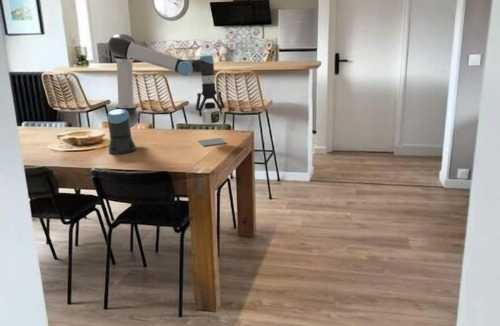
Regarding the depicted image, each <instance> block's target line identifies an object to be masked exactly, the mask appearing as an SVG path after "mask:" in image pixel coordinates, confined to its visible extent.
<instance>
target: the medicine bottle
mask: <svg viewBox="0 0 500 326" xmlns="http://www.w3.org/2000/svg"><path fill="white" fill-rule="evenodd" d="M202 111H203V119H204V122H202V123H203V124H207V125H213V124H217V123H220V120H219V110H218V109H216V103H215V101H212V102H211V101H209V102H205V104H204V110H202Z"/></svg>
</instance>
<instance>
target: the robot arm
mask: <svg viewBox="0 0 500 326" xmlns="http://www.w3.org/2000/svg"><path fill="white" fill-rule="evenodd" d="M107 46H108V49H109V51H110V53H111V54H112V55H113V59H114V61H116V70H117V71H116V72H117V73H116V77H117V104H116V105H115V109H113V110H110V111H109V112H107V116H106V117H107V125H108V131H109V139H110V140H109V144H108V153H109V154H111V153H112V154H111V155H125V154H129V153H134V152H135V151H136V150H137V147H136V144H135V141H134V140H133V138H132V130H131V128H133V127H135V125H136V124H137V122H138V120H139V113H138V111H137V105H136V104H135V103H134V85H133V84H134V77H133V73H134V72H133V63H134V61H136V60H138V61H140V62H142V63H143V62H144V63H146V64H150V65H152V66H156V67H159V68H163V69H166V70H168V71H171V72H175V73H178V74H179V75H180V76H184V77H185V76H186V77H187V76H189V75H191V74H200V75H201V76H200V77H201V82H202V83H201V88H202V91H201V92H197V93H196V95H197V98H196V105H195V110H196V111H198V115H199V117H200V120H201V122H202V123H203V122H204V119H203V111H204V110H203V108H204V107H205V103H206V101H207V100H213V102H214V103H215V105H216V106H217V107H218V108H217V110H219V121H221V115H223V112H222V111H223V109H224V108H225V104H224V99H223V98H222V91H219V90H218V91H216V83H215V81H216V80H215V62H214V58H213V56H212V55H208V54H207V55H200V57H199V58H198V59H182V58H180V57H179V58H178V57H175V56H172V55H169V54H167V53H163V52H160V51H156V50H153V49H151V48H148V47H144V46H141V45H139V44H137V42H136V40H135V38H134V37H133V36H131V35H130V34H129V35H128V34H115V35H112V36H111V37H110V38H109V41H108V45H107ZM216 95H217V96H218V100H217V98H216ZM202 97H203V98H202ZM201 98H202V101H201ZM200 102H201V103H200Z"/></svg>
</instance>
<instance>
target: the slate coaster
mask: <svg viewBox="0 0 500 326" xmlns="http://www.w3.org/2000/svg"><path fill="white" fill-rule="evenodd" d="M197 142H198V143H199V144H200V145H201V146H203V147H204V148H205V147H210V146H211V147H213V146H214V147H215V146H220V145H221V146H222V145H227V141H225V140H224V139H223V138H221V137H217V138H215V137H214V138H207V139H200V140H198V141H197Z"/></svg>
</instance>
